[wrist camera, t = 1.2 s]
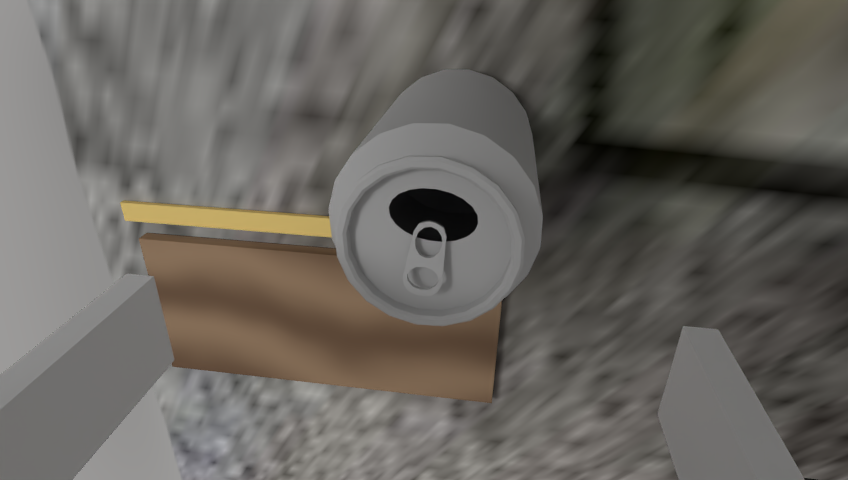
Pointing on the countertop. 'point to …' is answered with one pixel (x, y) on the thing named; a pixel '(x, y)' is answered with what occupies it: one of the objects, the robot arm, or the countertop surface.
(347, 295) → the board
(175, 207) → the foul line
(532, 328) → the countertop surface
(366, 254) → the can
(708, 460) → the robot arm
